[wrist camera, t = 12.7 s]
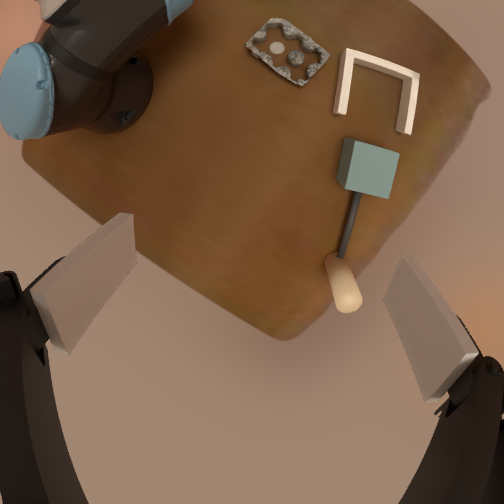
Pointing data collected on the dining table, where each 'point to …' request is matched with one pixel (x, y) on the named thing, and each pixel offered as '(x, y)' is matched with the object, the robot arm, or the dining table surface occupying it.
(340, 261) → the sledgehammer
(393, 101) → the dining table surface
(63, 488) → the robot arm
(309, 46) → the egg carton
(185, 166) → the dining table surface
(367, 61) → the white u-shaped bracket
